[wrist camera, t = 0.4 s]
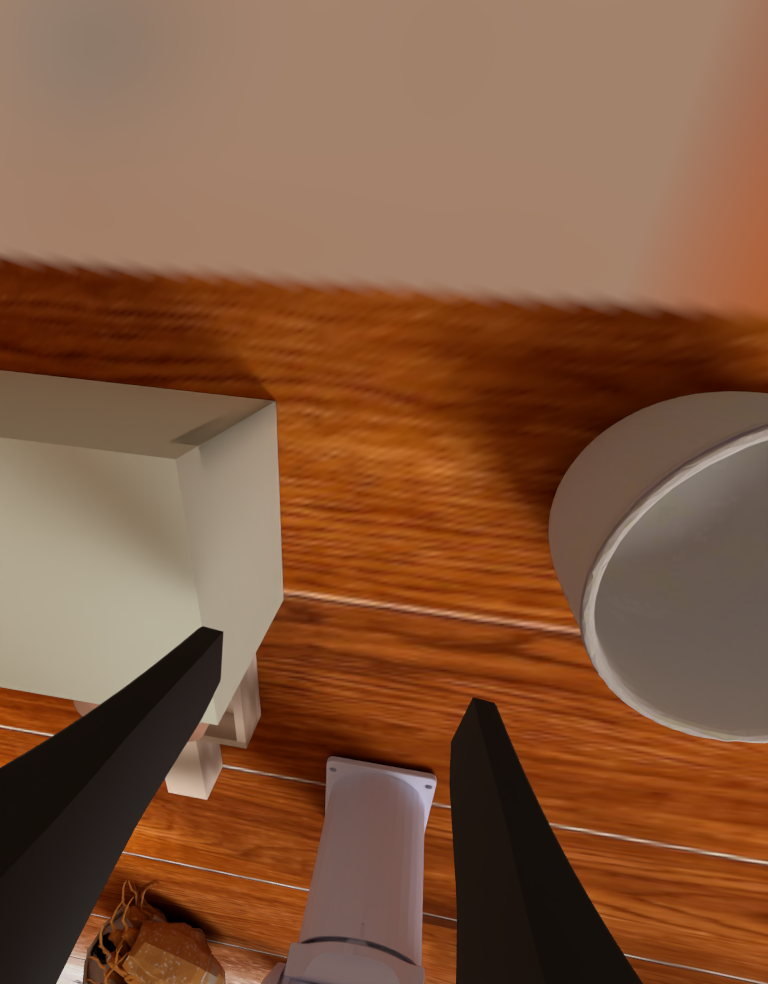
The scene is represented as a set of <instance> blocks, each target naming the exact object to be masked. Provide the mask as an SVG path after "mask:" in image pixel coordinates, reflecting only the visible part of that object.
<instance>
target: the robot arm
mask: <svg viewBox="0 0 768 984" xmlns="http://www.w3.org/2000/svg"><path fill="white" fill-rule="evenodd" d="M223 633H224V632H223V631H219V630H216V629H212V628H208V627H204V626H202V627H200V628H198V629H197V630H196V631H195V632H194V633H192V634H191V635H190V636H189V637H188V638H186V639H185V640H184V641H183V642H182V643H180V644H179V645H178V646H177V647H175V648H174V649H173V650H172V651H171V652H169V653H168V654H167V655H166V656H164V657H163V658H162V659H161V660H159V661H158V662H157V663H156V664H154V665H153V666H152V667H150V668H149V669H148V670H146V671H145V672H144V673H142V674H141V675H140V676H139V677H137V678H136V679H135V680H133V681H132V682H131V683H129V684H128V685H127V686H125V687H124V688H123V689H121V690H120V691H119V692H117V693H116V694H114V695H113V696H111V697H110V698H109V699H107V700H106V701H104V702H103V703H101V704H100V705H99V706H97V707H96V708H94V709H93V710H92V711H90V712H89V713H87V714H86V715H84V716H83V717H81V718H80V719H78V720H77V721H75V722H74V723H72V724H71V725H69V726H68V727H66V728H65V729H63V730H62V731H60V732H59V733H57V734H55V735H54V736H52V737H51V738H49V739H47V740H46V741H44V742H43V743H41V744H39V745H38V746H36V747H35V748H33V749H31V750H30V751H28V752H26V753H25V754H23V755H21V756H20V757H18V758H16V759H14V760H13V761H11V762H9V763H8V764H6V765H4V766H2V767H1V768H0V984H56V983H57V981H58V979H59V976H60V974H61V972H62V970H63V968H64V966H65V964H66V962H67V960H68V958H69V956H70V954H71V952H72V950H73V948H74V946H75V944H76V942H77V940H78V938H79V936H80V934H81V932H82V930H83V928H84V926H85V924H86V922H87V920H88V918H89V916H90V914H91V912H92V910H93V908H94V906H95V904H96V902H97V900H98V898H99V896H100V894H101V892H102V890H103V888H104V886H105V885H106V883H107V881H108V879H109V877H110V875H111V873H112V871H113V869H114V867H115V865H116V863H117V861H118V859H119V858H120V856H121V854H122V852H123V850H124V848H125V846H126V844H127V842H128V840H129V839H130V837H131V835H132V833H133V831H134V829H135V827H136V825H137V824H138V822H139V820H140V819H141V817H142V815H143V813H144V812H145V810H146V808H147V807H148V805H149V803H150V802H151V800H152V798H153V797H154V795H155V794H156V792H157V790H158V789H159V787H160V786H161V784H162V782H163V781H164V779H165V778H166V776H167V774H168V773H169V771H170V770H171V768H172V766H173V765H174V763H175V762H176V760H177V758H178V757H179V755H180V754H181V752H182V750H183V749H184V747H185V745H186V744H187V742H188V741H189V739H190V737H191V736H192V734H193V732H194V731H195V729H196V728H197V726H198V724H199V723H200V721H201V719H202V718H203V716H204V714H205V712H206V710H207V708H208V706H209V704H210V702H211V700H212V698H213V695H214V693H215V691H216V689H217V687H218V685H219V683H220V681H221V668H222V650H223ZM435 787H436V776H435V775H433V774H431V773H426V772H420V771H415V770H409V769H403V768H398V767H392V766H386V765H381V764H375V763H370V762H364V761H358V760H353V759H347V758H341V757H336V756H331V757H329V758H328V760H327V767H326V799H325V821H324V825H323V830H322V835H321V839H320V844H319V848H318V853H317V858H316V862H315V867H314V871H313V876H312V881H311V885H310V890H309V894H308V899H307V904H306V908H305V913H304V917H303V922H302V927H301V931H300V936H299V940H298V943H294V942H292V943H291V945H290V950H289V954H288V958H287V963H282V962H279V963H277V964H276V965H275V966H274V967H273V969H272V970H271V972H270V973H269V974H268V975H267V976H266V977H265V978H264V979H263V981H262V983H261V984H424V978H425V969H424V967H422V966H421V953H422V908H423V864H424V833H425V828H426V824H427V820H428V816H429V812H430V808H431V804H432V800H433V796H434V791H435ZM450 799H451V816H452V832H453V848H454V863H455V879H456V899H457V969H456V984H643V983H642V982H641V980H640V979H639V977H638V976H637V974H636V972H635V971H634V969H633V968H632V966H631V965H630V963H629V962H628V960H627V959H626V957H625V956H624V954H623V953H622V951H621V949H620V948H619V946H618V945H617V943H616V942H615V940H614V938H613V937H612V935H611V934H610V932H609V930H608V929H607V927H606V925H605V924H604V922H603V920H602V919H601V917H600V915H599V914H598V912H597V910H596V909H595V907H594V905H593V904H592V902H591V900H590V898H589V897H588V895H587V893H586V892H585V890H584V888H583V886H582V885H581V883H580V881H579V879H578V878H577V876H576V874H575V872H574V870H573V869H572V867H571V865H570V863H569V861H568V859H567V858H566V856H565V854H564V852H563V850H562V848H561V846H560V844H559V842H558V841H557V839H556V837H555V835H554V833H553V831H552V829H551V827H550V825H549V823H548V821H547V819H546V817H545V815H544V813H543V811H542V809H541V807H540V805H539V803H538V800H537V798H536V796H535V794H534V792H533V790H532V788H531V785H530V783H529V781H528V779H527V777H526V775H525V773H524V770H523V768H522V766H521V764H520V761H519V759H518V757H517V754H516V752H515V750H514V747H513V745H512V743H511V740H510V738H509V736H508V733H507V731H506V728H505V726H504V724H503V721H502V719H501V716H500V714H499V711H498V709H497V706H496V705H495V703H493V702H489V701H485V700H481V699H477V698H474V697H473V698H472V701H471V703H470V705H469V707H468V709H467V711H466V713H465V715H464V717H463V719H462V721H461V723H460V725H459V727H458V729H457V731H456V733H455V735H454V737H453V739H452V741H451V759H450Z"/></svg>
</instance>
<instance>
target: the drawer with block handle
mask: <svg viewBox="0 0 768 984" xmlns="http://www.w3.org/2000/svg"><path fill="white" fill-rule="evenodd" d="M260 716H261V709H260V697H259V685H258V673H257V661H256V653H255V655H254V657H253V659H252V661H251V663H250V665H249V667H248V668H247V670H246V672H245V674H244V676H243V678H242V680H241V682H240V684H239V686H238V688H237V689H236V691H235V693H234V695H233V697H232V699H231V701H230V703H229V705H228V707H227V709H226V711H225V712H224V714H223V716H222V718H221V720H220V722H219V724H218V725H214V724H209V726H208V728H207V729H206V731H205V733H204V735H203V736H202V737H201V738H200V739H199V740H196V741H191V742H187V744H186V745H185V747H184V749H183V750H182V752H181V754H180V755H179V757H178V758H177V760H176V762H175V763H174V765H173V766H172V768H171V770H170V771H169V773H168V774H167V776H166V778H165V780H166V784H167V788H168V792H169V793H174V794H180V795H185V796H190V797H195V798H200V799H206V800H207V799H208V797H209V794H210V792H211V790H212V788H213V786H214V784H215V782H216V780H217V777H218V775H219V773H220V771H221V769H222V767H223V763H222V756H221V750H220V744H223V745H229V746H234V747H240V748H245V749H246V748H247V746H248V744H249V742H250V739H251V737H252V735H253V732H254V730H255V728H256V726H257V723H258V721H259V719H260Z"/></svg>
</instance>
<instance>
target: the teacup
mask: <svg viewBox="0 0 768 984" xmlns="http://www.w3.org/2000/svg"><path fill="white" fill-rule="evenodd" d="M549 545H550V552H551V557H552V561H553V565H554V568H555V571H556V574H557V577H558V580H559V582H560V585H561V587H562V590H563V592H564V594H565V597H566V599H567V602H568V604H569V606H570V608H571V610H572V612H573V615H574V617H575V619H576V621H577V623H578V625H579V627H580V632H581V636H582V640H583V644H584V646H585V649H586V651H587V654H588V656H589V658H590V660H591V661H592V663H593V665H594V667H595V669H596V670H597V672H598V674H599V675H600V676H601V677H602V678H603V679H604V681H605V682H606V684H607V685H608V687H609V688H610V689H611V690H612V691H613V692H614V693H615V694H616V695H617V696H618V697H619V698H620V699H621V700H622V701H624V702H625V703H626V704H627V705H629V706H630V707H632V708H633V709H635V710H636V711H638V712H639V713H641V714H642V715H644V716H646V717H648V718H650V719H652V720H654V721H655V722H657V723H659V724H661V725H664V726H666V727H669V728H671V729H674V730H679V731H681V732H684V733H687V734H690V735H694V736H699V737H703V738H710V739H717V740H721V741H740V742H751V743H768V394H767V393H756V392H737V391H725V392H708V393H698V394H691V395H686V396H682V397H677V398H674V399H670V400H666V401H663V402H659V403H657V404H654V405H651V406H649V407H646V408H643V409H641V410H639V411H637V412H635V413H633V414H631V415H629V416H627V417H625V418H624V419H622V420H620V421H619V422H617V423H615V424H613V425H612V426H611V427H609V428H608V429H607V430H605V431H604V432H603V433H601V434H600V435H599V436H597V437H596V438H595V439H594V440H593V441H592V442H591V443H590V444H589V445H587V446H586V448H585V449H584V450H583V451H582V452H581V453H580V454H579V455H578V457H577V458H576V459H575V461H574V462H573V463H572V464H571V466H570V467H569V469H568V470H567V472H566V473H565V475H564V477H563V479H562V481H561V483H560V484H559V486H558V488H557V491H556V494H555V497H554V499H553V503H552V507H551V511H550V518H549Z"/></svg>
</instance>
